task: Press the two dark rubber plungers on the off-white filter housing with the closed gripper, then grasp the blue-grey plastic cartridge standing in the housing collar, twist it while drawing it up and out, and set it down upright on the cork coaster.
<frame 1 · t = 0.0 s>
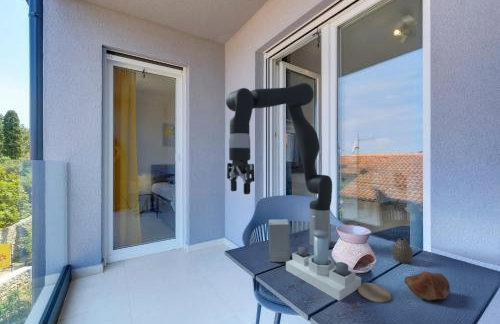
hand: (240, 192, 81), 29 cm above the table, fingers open, 8 cm apart
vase: (402, 261, 91), on the table
fossil: (427, 296, 69), on the table
plunger 2: (342, 269, 72), point 6 cm above the table, slide at 0.0 cm
housing: (320, 277, 79), on the table
skincare box: (279, 259, 93), on the table
plunger 1: (303, 251, 85), point 6 cm above the table, slide at 0.0 cm
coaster: (373, 293, 70), on the table
cartridge: (320, 269, 79), point 3 cm above the table, touching housing
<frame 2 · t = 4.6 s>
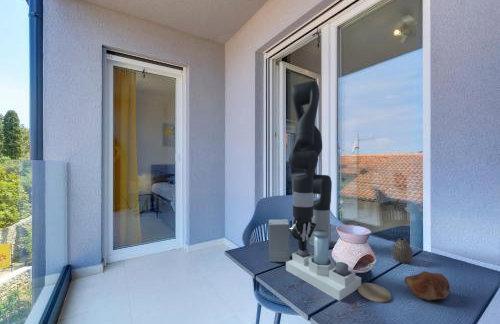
hand: (302, 249, 85), 7 cm above the table, fingers closed
plunger 1: (303, 253, 85), point 6 cm above the table, slide at 0.7 cm, touching gripper
everything else where it was.
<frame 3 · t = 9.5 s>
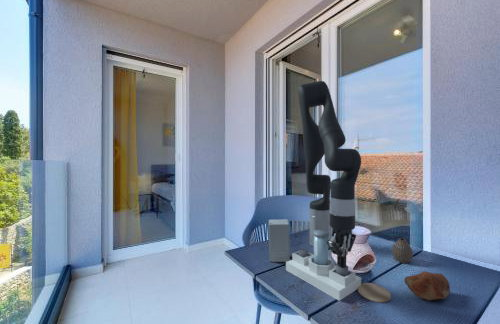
hand: (341, 266, 72), 7 cm above the table, fingers closed
plunger 2: (342, 271, 72), point 6 cm above the table, slide at 0.5 cm, touching gripper
plunger 1: (303, 255, 85), point 5 cm above the table, slide at 1.2 cm
everything else where it was.
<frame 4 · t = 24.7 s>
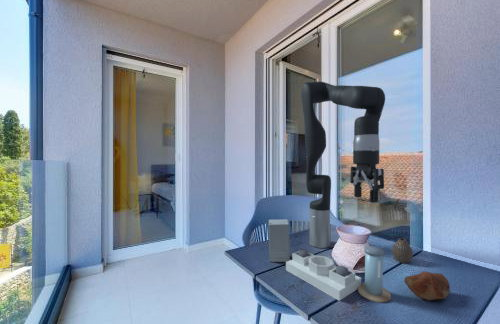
hand: (365, 199, 74), 28 cm above the table, fingers open, 8 cm apart
plunger 2: (342, 273, 72), point 5 cm above the table, slide at 1.2 cm
cartridge: (373, 291, 70), point 1 cm above the table, touching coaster
everything else where it was.
at the end: cartridge 0.1 cm from the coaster (horizontally); cartridge tilted 0°; cartridge point 0.6 cm above the table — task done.
